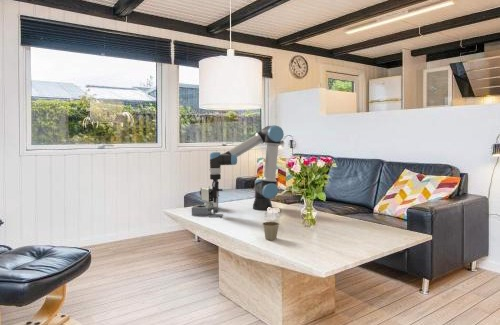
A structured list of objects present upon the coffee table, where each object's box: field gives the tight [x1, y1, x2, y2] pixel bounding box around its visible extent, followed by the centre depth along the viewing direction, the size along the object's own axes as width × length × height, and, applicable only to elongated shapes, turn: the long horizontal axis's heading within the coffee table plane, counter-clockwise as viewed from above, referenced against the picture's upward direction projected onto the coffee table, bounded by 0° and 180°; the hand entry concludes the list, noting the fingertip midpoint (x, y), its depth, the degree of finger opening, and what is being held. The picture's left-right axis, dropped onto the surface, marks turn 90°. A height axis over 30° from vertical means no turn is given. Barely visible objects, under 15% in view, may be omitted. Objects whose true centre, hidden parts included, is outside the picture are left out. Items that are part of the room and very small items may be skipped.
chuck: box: [191, 204, 212, 217], centre depth 269 cm, size 12×12×6 cm
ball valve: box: [199, 185, 213, 210], centre depth 289 cm, size 18×8×18 cm, turn 37°
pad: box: [208, 213, 224, 218], centre depth 262 cm, size 9×9×1 cm
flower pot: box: [262, 221, 280, 241], centre depth 203 cm, size 9×9×9 cm
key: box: [208, 188, 224, 214], centre depth 261 cm, size 4×10×17 cm, turn 85°
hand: (215, 206), depth 261 cm, fingers closed on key, 3 cm apart
